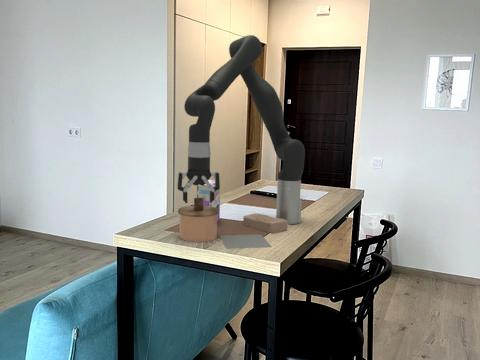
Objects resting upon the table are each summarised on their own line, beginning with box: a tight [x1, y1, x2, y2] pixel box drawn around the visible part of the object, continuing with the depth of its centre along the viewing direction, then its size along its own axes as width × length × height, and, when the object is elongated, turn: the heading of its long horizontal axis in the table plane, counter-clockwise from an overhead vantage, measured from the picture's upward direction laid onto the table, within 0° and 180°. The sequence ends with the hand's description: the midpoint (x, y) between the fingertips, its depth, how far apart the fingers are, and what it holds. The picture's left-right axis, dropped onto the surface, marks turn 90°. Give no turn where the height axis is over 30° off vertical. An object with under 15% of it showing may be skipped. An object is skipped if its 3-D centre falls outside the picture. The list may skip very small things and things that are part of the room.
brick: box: [242, 212, 289, 234], centre depth 176 cm, size 17×8×5 cm, turn 42°
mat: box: [219, 233, 273, 250], centre depth 157 cm, size 15×15×1 cm
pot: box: [179, 214, 218, 243], centre depth 161 cm, size 13×13×9 cm
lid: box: [177, 197, 219, 217], centre depth 160 cm, size 14×14×5 cm
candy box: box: [196, 179, 221, 223], centre depth 179 cm, size 14×6×16 cm, turn 168°
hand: (198, 202), depth 159 cm, fingers open, 8 cm apart
